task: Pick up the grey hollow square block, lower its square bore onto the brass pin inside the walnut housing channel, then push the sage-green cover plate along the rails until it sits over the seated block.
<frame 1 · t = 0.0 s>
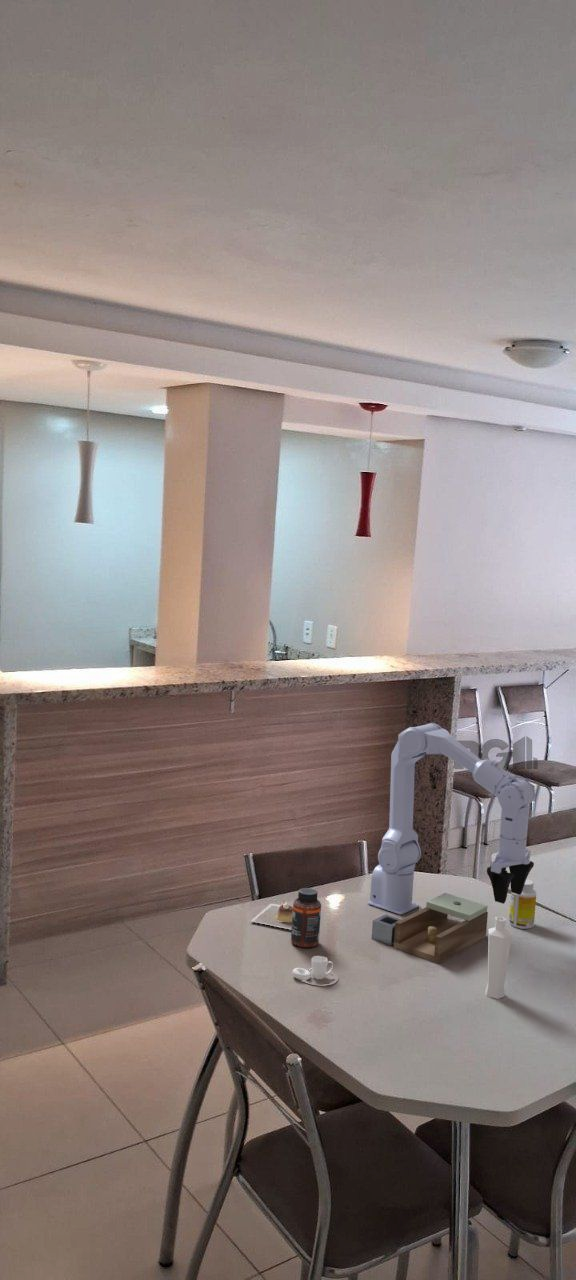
hand: (508, 897, 215), 10 cm above the table, tool pointing down, fingers open, 7 cm apart
grey hollow square block: (387, 938, 215), on the table
cover: (456, 906, 219), point 6 cm above the table, slide at 10.0 cm
supplement bottle: (521, 925, 227), on the table
housing: (440, 941, 215), on the table
dessert: (285, 922, 223), on the table
perfume bottle: (493, 994, 192), on the table
teacup and saucer: (308, 974, 197), on the table
supplement bottle 2: (304, 943, 210), on the table
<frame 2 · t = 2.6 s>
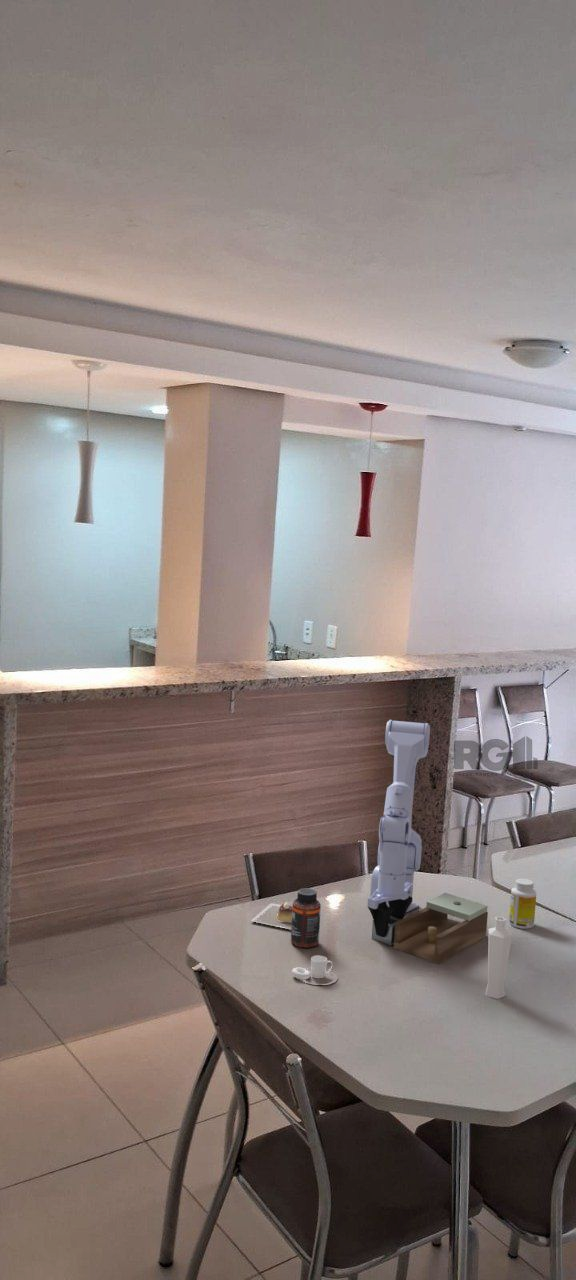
hand: (388, 932, 215), 1 cm above the table, tool pointing down, fingers closed on grey hollow square block, 5 cm apart
grey hollow square block: (387, 938, 215), on the table, touching gripper
everything else where it was.
when the fingers open (4 cm above the table, at t = 5.7 s): grey hollow square block stays where it is, resting on housing.
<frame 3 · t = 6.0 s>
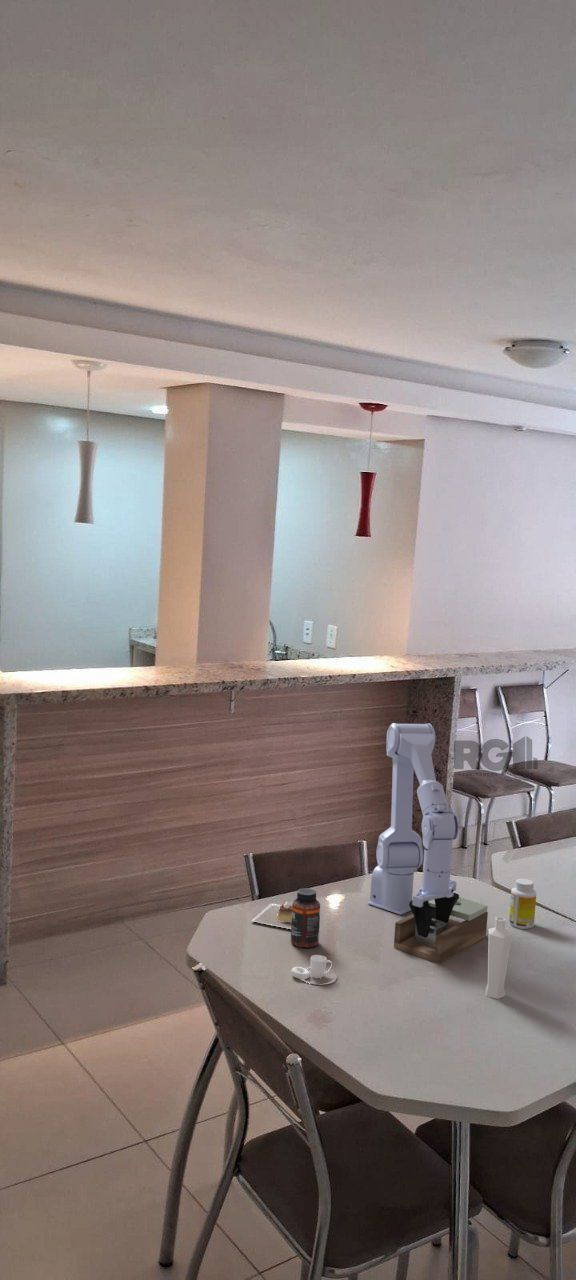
hand: (432, 930, 212), 4 cm above the table, tool pointing down, fingers open, 7 cm apart
grey hollow square block: (430, 941, 212), point 1 cm above the table, touching housing
teacup and saucer: (307, 973, 198), on the table, touching supplement bottle 2
supplement bottle 2: (304, 943, 210), on the table, touching teacup and saucer
everything else where it was.
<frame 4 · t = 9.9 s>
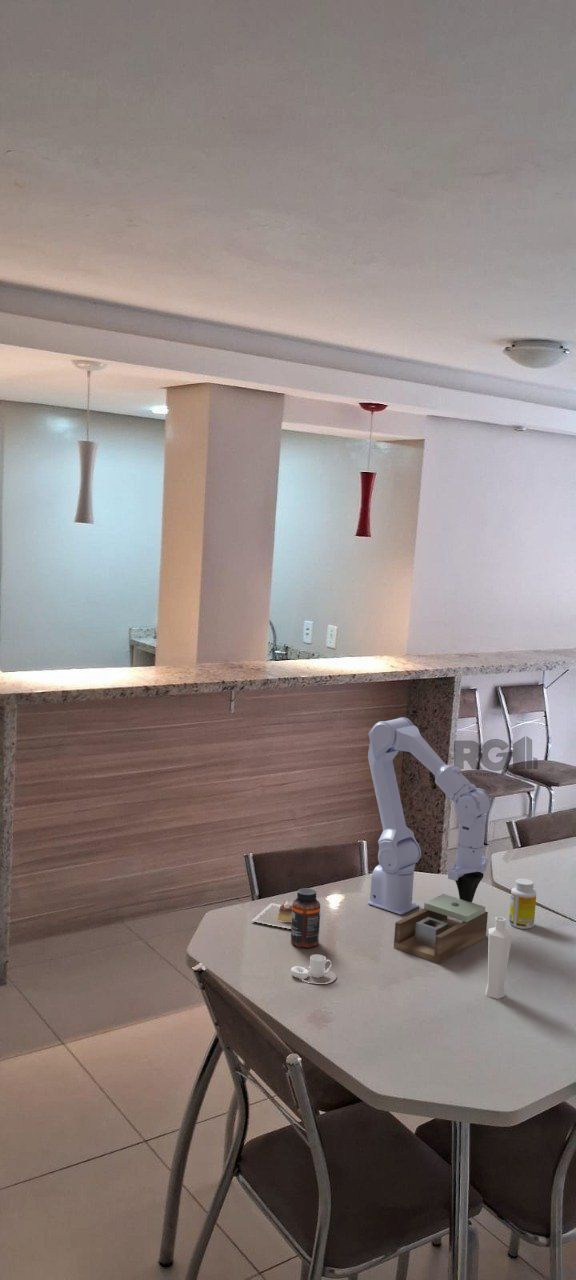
hand: (465, 903, 222), 6 cm above the table, tool pointing down, fingers closed
cover: (454, 907, 218), point 6 cm above the table, slide at 9.1 cm, touching gripper
teacup and saucer: (307, 973, 198), on the table
supplement bottle 2: (304, 944, 210), on the table
everything else where it was.
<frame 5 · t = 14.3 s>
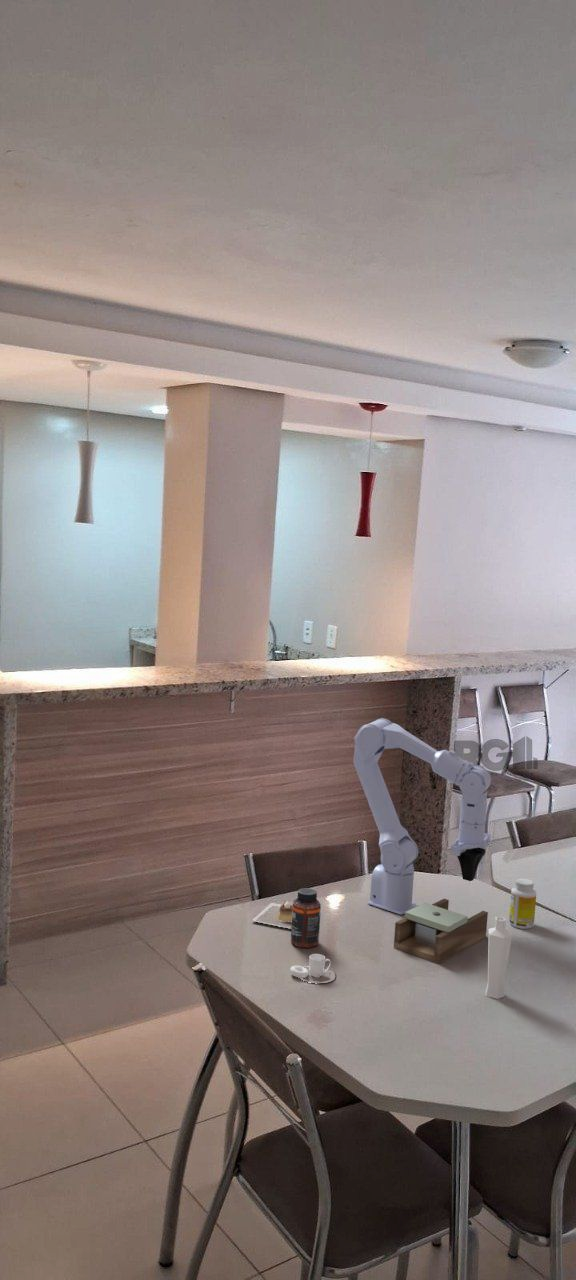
hand: (468, 879, 226), 10 cm above the table, tool pointing down, fingers closed
cover: (436, 916, 212), point 6 cm above the table, slide at 1.2 cm
everything else where it was.
at the end: grey hollow square block 0.2 cm from the target spot on the housing, point 1.2 cm above the housing's base; grey hollow square block tilted 0°; cover slide at 1.2 cm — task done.
